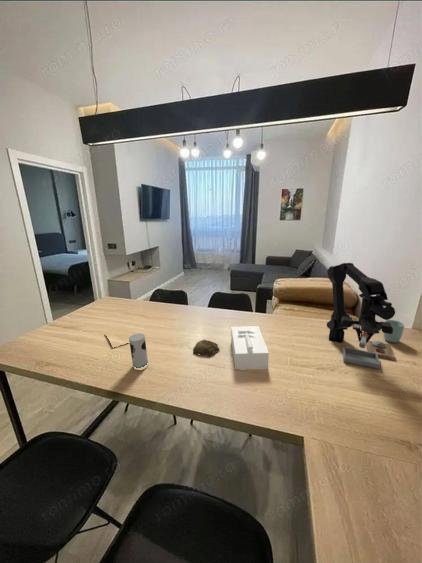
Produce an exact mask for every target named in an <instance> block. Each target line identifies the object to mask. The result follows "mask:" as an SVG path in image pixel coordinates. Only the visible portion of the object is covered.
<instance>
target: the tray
mask: <svg viewBox="0 0 422 563" xmlns="http://www.w3.org/2000/svg"><path fill="white" fill-rule="evenodd" d="M342 348H343V349H342V359H343V360H342V361H343V363H346V364H348V365H349V364H350V365H355V366H358V367H364V368H370V369H373V370H378V371H380V369H381V368H380V367H381V363H380V360H379V357H378V355H377V353H373V352H368V350H362V349H357V348H351V347H347V346H343V347H342Z"/></svg>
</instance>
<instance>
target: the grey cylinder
mask: <svg viewBox="0 0 422 563" xmlns="http://www.w3.org/2000/svg"><path fill="white" fill-rule="evenodd" d="M133 334H134V333H133ZM129 342H130V343H129V348H130V354H131V356H130V357H131V362H132V367H133V366H134V367H136V368H141V367H144V366H145V365H147V363H148V364H149V360H148V352H147V343H146V335H145V334H144V333H135V334H134V335H132V336H130V337H129Z"/></svg>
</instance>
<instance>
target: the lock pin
mask: <svg viewBox="0 0 422 563" xmlns="http://www.w3.org/2000/svg"><path fill="white" fill-rule="evenodd" d="M368 335H369V332H362V331H360V341H359V345H358V347H359V348H361V349H365V348H366V347H367V346H366V340H367V336H368Z"/></svg>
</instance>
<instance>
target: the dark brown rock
mask: <svg viewBox="0 0 422 563" xmlns="http://www.w3.org/2000/svg"><path fill="white" fill-rule="evenodd" d="M194 345H195V346H194V347H193V348H192V349H193V350H192V351H193V353H194V354H196V355H198V354H200V355H199V356H202V355H208V356H207V357H211V356H210V355H213V356H214V355H216V353H217V352H218V351H219V352H220V347H219V344H218V343H216V342H214V341H212V340H209V339H208V340H207V339H202V340H199V341H198V342H196V344H194ZM219 352H218V353H219Z"/></svg>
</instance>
